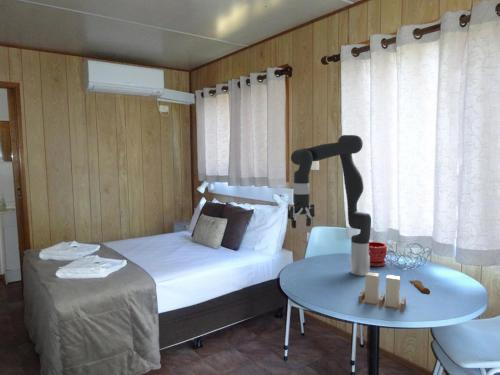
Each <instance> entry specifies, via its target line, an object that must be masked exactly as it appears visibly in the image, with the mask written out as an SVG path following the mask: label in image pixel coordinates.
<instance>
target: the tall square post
mask: <svg viewBox="0 0 500 375" xmlns="http://www.w3.org/2000/svg"><path fill="white" fill-rule="evenodd" d="M400 291H401V276H399V275H391V274H387V275H386V278H385V306H389V307H395V308H398V307H399V304H400V303H401V300H400V297H401V292H400Z"/></svg>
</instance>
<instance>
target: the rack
mask: <svg viewBox="0 0 500 375" xmlns="http://www.w3.org/2000/svg"><path fill="white" fill-rule="evenodd" d="M385 299H386V292H385V293H384V292H383V293H381V294H380V296H379V302H378V304H373V303H367V302H365V289H362V290H361V292H360V294H359V295H358V303H359V304H362V305H363V304H364V305H369V306H372V307H374V306H375V307H378V308H379V307H380V308H384V309H390V310H395V311H401V312H404V311H405V308H406V305H407V304H406V303H407V297H406V296H402V298H401V300H400V304H399V307H398V308H395V307H389V306H385Z"/></svg>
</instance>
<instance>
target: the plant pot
mask: <svg viewBox="0 0 500 375" xmlns="http://www.w3.org/2000/svg"><path fill="white" fill-rule="evenodd" d="M387 246H388V245H387V244H386V243H383V242H378V241H369V256H370V267H371V266H372V267H380V266H381V267H382V266H384V265H385V264H386V256H387Z"/></svg>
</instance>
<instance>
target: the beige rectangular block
mask: <svg viewBox="0 0 500 375" xmlns="http://www.w3.org/2000/svg"><path fill="white" fill-rule="evenodd" d="M364 280H365V282H364V285H365V286H364V287H365V288H364V290H365V302H367V303H373V304H378V302H379V299H380V273H376V272H371V271H370V272H367V273H366V275H365V279H364Z"/></svg>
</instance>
